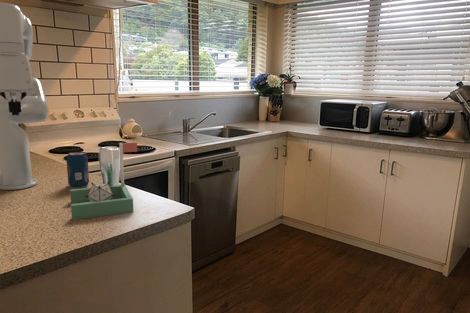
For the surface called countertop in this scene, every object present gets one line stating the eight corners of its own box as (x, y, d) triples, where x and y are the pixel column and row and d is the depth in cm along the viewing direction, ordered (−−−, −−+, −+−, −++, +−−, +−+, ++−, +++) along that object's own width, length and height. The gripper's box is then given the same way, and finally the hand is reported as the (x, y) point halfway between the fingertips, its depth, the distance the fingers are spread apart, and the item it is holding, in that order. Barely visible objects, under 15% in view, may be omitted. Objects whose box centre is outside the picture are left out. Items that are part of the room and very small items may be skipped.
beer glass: (109, 194, 122) (107, 150, 119) (96, 191, 126) (93, 148, 123) (126, 189, 128) (124, 147, 125) (112, 186, 132) (110, 145, 128)
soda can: (68, 184, 133) (66, 151, 131) (88, 182, 136) (87, 150, 134) (68, 189, 127) (65, 155, 125) (89, 187, 130) (87, 154, 127)
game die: (104, 222, 108) (101, 203, 101) (80, 209, 110) (76, 190, 102) (123, 201, 114) (121, 181, 107) (100, 189, 116) (97, 169, 108)
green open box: (72, 219, 100) (67, 155, 96) (70, 201, 114) (66, 145, 111) (148, 210, 109) (146, 150, 105) (138, 194, 123) (136, 142, 119)
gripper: (-26, 47, 97) (-18, 116, 101) (38, 50, 103) (43, 115, 107) (-20, 49, 103) (-13, 114, 107) (39, 52, 110) (45, 113, 113)
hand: (15, 114), depth 107 cm, fingers closed
